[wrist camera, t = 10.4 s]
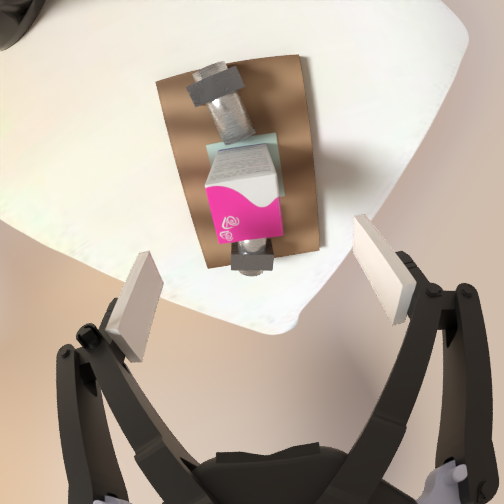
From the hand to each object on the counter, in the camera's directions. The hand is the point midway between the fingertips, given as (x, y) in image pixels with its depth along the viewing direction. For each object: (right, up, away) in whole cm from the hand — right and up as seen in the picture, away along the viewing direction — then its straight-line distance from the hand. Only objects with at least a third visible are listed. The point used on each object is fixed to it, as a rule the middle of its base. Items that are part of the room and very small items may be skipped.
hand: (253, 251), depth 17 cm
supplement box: (-1, +10, +14) cm, 17 cm away
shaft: (0, +2, +19) cm, 19 cm away
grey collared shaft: (-3, +16, +10) cm, 19 cm away
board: (-1, +10, +15) cm, 18 cm away
